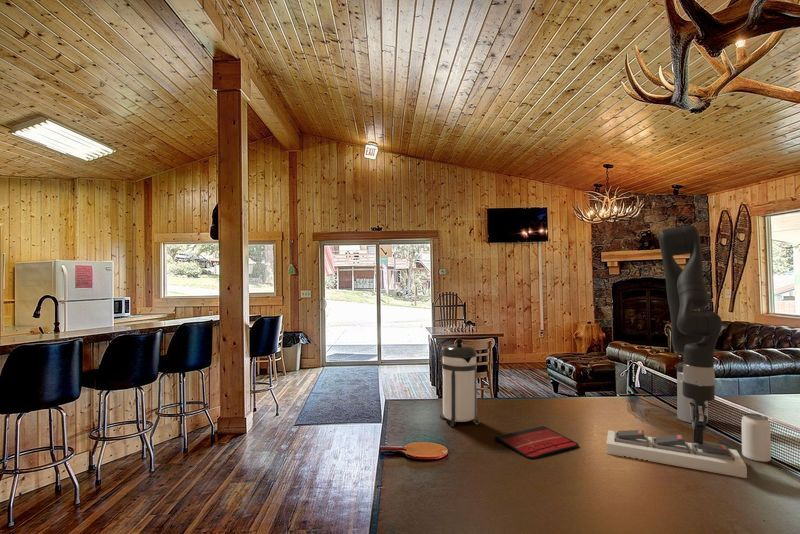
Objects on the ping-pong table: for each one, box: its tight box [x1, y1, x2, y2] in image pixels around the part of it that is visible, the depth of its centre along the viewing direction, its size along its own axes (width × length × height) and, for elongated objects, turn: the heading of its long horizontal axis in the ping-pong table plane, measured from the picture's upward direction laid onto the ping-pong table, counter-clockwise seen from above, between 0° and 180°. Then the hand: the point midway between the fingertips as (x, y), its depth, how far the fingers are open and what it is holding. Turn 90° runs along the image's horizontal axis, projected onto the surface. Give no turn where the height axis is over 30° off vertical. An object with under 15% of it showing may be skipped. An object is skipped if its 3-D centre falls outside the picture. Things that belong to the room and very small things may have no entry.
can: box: [741, 412, 772, 463], centre depth 125 cm, size 6×6×12 cm
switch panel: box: [606, 429, 748, 479], centre depth 125 cm, size 12×33×4 cm, turn 62°
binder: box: [494, 425, 579, 460], centre depth 135 cm, size 16×2×21 cm
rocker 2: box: [655, 434, 686, 446], centre depth 125 cm, size 4×7×1 cm, turn 62°
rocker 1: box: [617, 429, 646, 439], centre depth 130 cm, size 4×7×1 cm, turn 62°
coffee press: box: [439, 337, 481, 428], centre depth 157 cm, size 17×16×30 cm
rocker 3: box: [695, 440, 729, 456], centre depth 121 cm, size 4×7×1 cm, turn 62°
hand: (697, 442), depth 122 cm, fingers closed
